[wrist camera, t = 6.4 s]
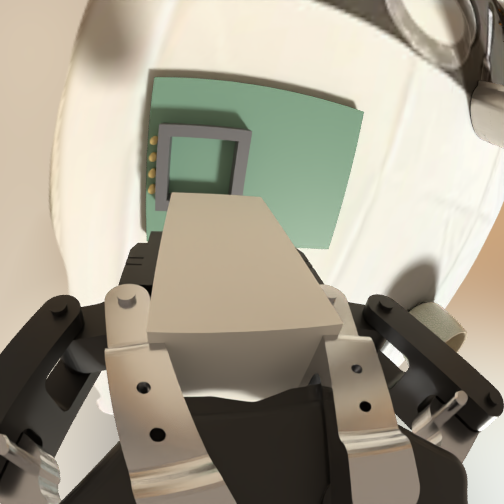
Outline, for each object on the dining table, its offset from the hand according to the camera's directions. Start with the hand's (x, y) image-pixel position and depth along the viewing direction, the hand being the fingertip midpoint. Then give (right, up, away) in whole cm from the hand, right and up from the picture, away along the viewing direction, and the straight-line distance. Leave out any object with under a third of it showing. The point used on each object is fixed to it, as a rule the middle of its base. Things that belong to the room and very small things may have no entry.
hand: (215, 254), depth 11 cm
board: (+2, +8, +14) cm, 17 cm away
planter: (+33, -13, +34) cm, 49 cm away
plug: (0, +1, +2) cm, 2 cm away
